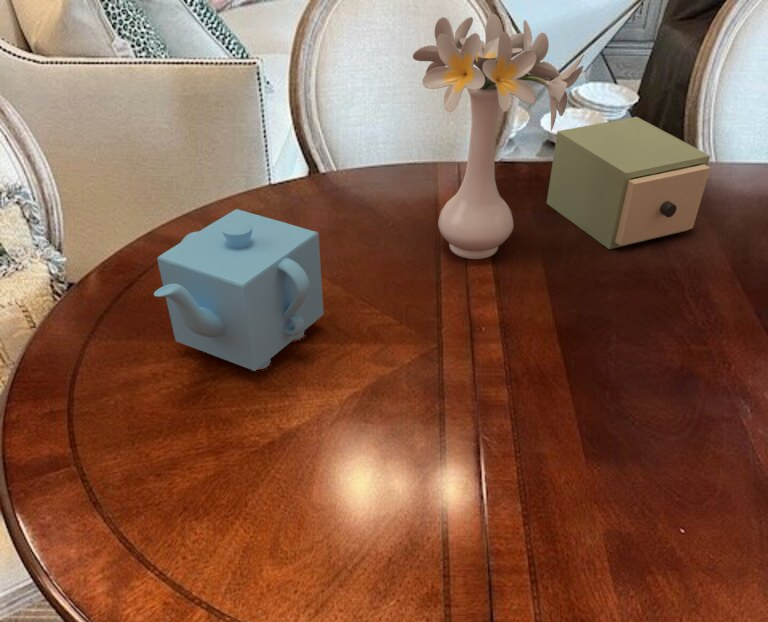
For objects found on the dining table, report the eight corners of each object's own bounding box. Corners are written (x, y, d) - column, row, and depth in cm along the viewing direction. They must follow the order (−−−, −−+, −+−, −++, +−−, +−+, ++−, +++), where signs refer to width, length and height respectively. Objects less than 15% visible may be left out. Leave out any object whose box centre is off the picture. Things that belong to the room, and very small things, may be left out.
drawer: (699, 232, 100) (717, 171, 95) (626, 250, 97) (640, 187, 91) (629, 188, 110) (642, 130, 104) (560, 203, 106) (569, 143, 101)
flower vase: (548, 281, 93) (587, 45, 76) (397, 263, 96) (400, 33, 78) (556, 231, 102) (592, 10, 84) (417, 217, 105) (424, 0, 87)
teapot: (231, 295, 91) (214, 185, 82) (344, 334, 85) (339, 220, 76) (121, 374, 80) (87, 257, 71) (241, 424, 75) (221, 303, 65)
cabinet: (688, 230, 103) (710, 155, 96) (609, 249, 99) (625, 173, 92) (621, 187, 112) (636, 116, 105) (546, 203, 108) (557, 131, 101)
